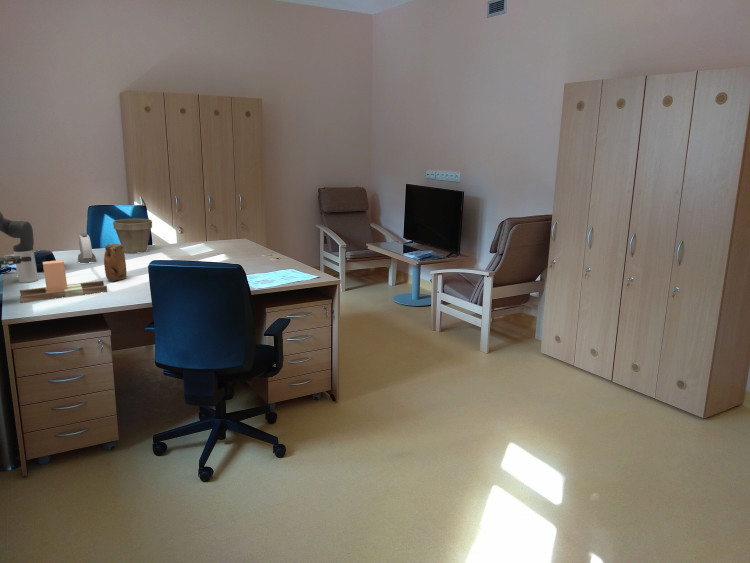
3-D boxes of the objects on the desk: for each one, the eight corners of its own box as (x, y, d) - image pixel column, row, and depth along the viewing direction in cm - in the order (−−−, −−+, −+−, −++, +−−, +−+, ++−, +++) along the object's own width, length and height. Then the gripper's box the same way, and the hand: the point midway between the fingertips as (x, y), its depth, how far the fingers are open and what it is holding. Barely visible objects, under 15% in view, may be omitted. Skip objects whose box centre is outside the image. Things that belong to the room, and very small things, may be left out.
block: (117, 276, 318) (114, 242, 313) (128, 277, 316) (125, 243, 311) (104, 281, 308) (99, 246, 303) (115, 282, 306) (111, 246, 301)
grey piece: (98, 263, 352) (94, 234, 347) (80, 265, 346) (76, 236, 342) (94, 258, 365) (90, 231, 360) (76, 260, 359) (73, 232, 355)
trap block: (46, 288, 281) (42, 261, 278) (66, 286, 286) (63, 259, 282) (47, 291, 276) (43, 264, 273) (67, 289, 281) (63, 262, 277)
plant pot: (162, 249, 397) (159, 218, 392) (140, 255, 374) (137, 224, 369) (131, 247, 403) (128, 217, 397) (108, 254, 380) (104, 222, 374)
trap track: (20, 296, 279) (19, 290, 278) (103, 285, 299) (103, 280, 298) (21, 302, 268) (20, 296, 267) (107, 291, 287) (106, 286, 287)
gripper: (-14, 256, 257) (30, 253, 266) (-13, 252, 267) (29, 249, 276) (-11, 272, 258) (32, 268, 267) (-10, 267, 269) (31, 263, 278)
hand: (31, 258), depth 272 cm, fingers closed
